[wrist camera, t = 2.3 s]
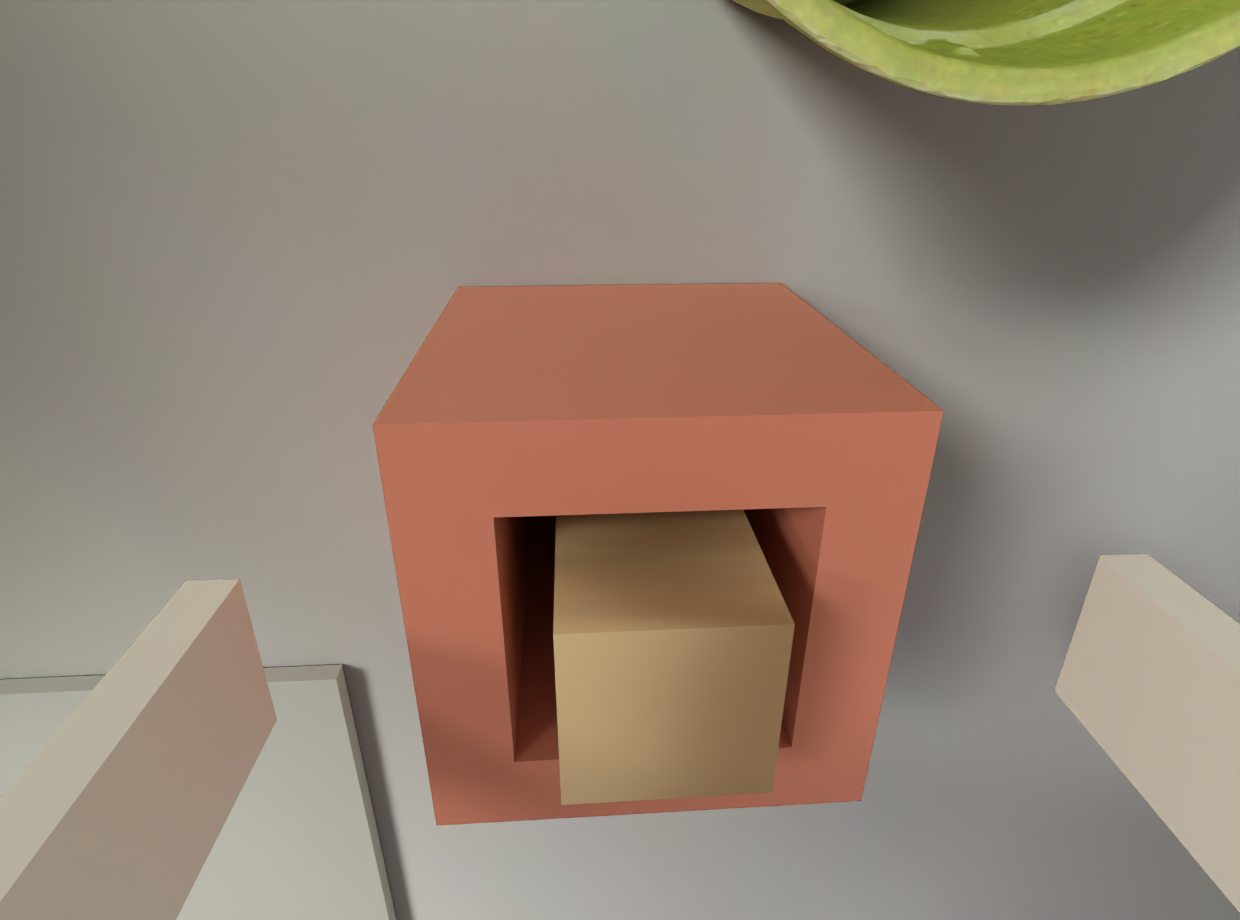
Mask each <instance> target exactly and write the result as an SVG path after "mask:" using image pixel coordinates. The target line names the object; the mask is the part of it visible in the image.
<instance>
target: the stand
mask: <svg viewBox="0 0 1240 920" xmlns="http://www.w3.org/2000/svg"><path fill="white" fill-rule="evenodd" d="M794 627H795V624H794V621H793V619H792V617H791V615H790V612H789V610H788V608H787V606H786V604H785V601H784V599H783V597H782V595H781V592H780V590H779V588H778V586H777V583H776V581H775V579H774V577H773V575H772V572H771V570H770V568H769V566H768V563H767V561H766V559H765V557H764V554H763V552H762V550H761V548H760V546H759V543H758V541H757V539H756V537H755V534H754V532H753V530H752V528H751V525H750V523H749V521H748V519H747V517H746V514H745V512H744V510H743V509H742V510H711V511H680V512H649V513H618V514H587V515H556V539H555V580H554V620H553V642H554V662H555V683H556V704H557V725H558V745H559V766H560V787H561V805H569V804H587V803H604V802H622V801H639V800H657V799H675V798H692V797H710V796H727V795H745V794H762V793H772V791H773V783H774V776H775V769H776V761H777V754H778V746H779V739H780V731H781V724H782V716H783V709H784V701H785V694H786V686H787V679H788V671H789V664H790V656H791V649H792V642H793V634H794Z"/></svg>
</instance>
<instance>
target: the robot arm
mask: <svg viewBox="0 0 1240 920" xmlns="http://www.w3.org/2000/svg"><path fill="white" fill-rule="evenodd" d="M1055 692H1056V693H1057V695H1058V696H1059V697H1060V698H1061V699H1062V701H1063V702H1064V703H1065V704H1066V705H1067V707H1068V708H1069V709H1070V710H1071V711H1072V713H1073V714H1074V715H1075V716H1076V717H1077V719H1078V720H1079V721H1080V722H1081V723H1082V725H1083V726H1084V727H1085V728H1086V729H1087V731H1088V732H1089V733H1090V734H1091V735H1092V737H1093V738H1094V739H1095V740H1096V741H1097V743H1098V744H1099V745H1100V746H1101V747H1102V749H1103V750H1104V751H1105V752H1106V753H1107V755H1108V756H1109V757H1110V758H1111V759H1112V761H1113V762H1114V763H1115V764H1116V765H1117V767H1118V768H1119V769H1120V770H1121V771H1122V773H1123V774H1124V775H1125V776H1126V777H1127V778H1128V780H1129V781H1130V782H1131V783H1132V784H1133V786H1134V787H1135V788H1136V789H1137V790H1138V792H1139V793H1140V794H1141V795H1142V796H1143V798H1144V799H1145V800H1146V801H1147V802H1148V804H1149V805H1150V806H1151V807H1152V808H1153V810H1154V811H1155V812H1156V813H1157V814H1158V816H1159V817H1160V818H1161V819H1162V820H1163V822H1164V823H1165V824H1166V825H1167V826H1168V828H1169V829H1170V830H1171V831H1172V832H1173V834H1174V835H1175V836H1176V837H1177V838H1178V840H1179V841H1180V842H1181V843H1182V844H1183V846H1184V847H1185V848H1186V849H1187V850H1188V852H1189V853H1190V854H1191V855H1192V856H1193V858H1194V859H1195V860H1196V861H1197V862H1198V864H1199V865H1200V866H1201V867H1202V868H1203V870H1204V871H1205V872H1206V873H1207V874H1208V876H1209V877H1210V878H1211V879H1212V880H1213V882H1214V883H1215V884H1216V885H1217V886H1218V888H1219V889H1220V890H1221V891H1222V892H1223V894H1224V895H1225V896H1226V897H1227V898H1228V900H1229V901H1230V902H1231V903H1232V904H1233V906H1234V907H1235V908H1236V909H1237V910H1238V912H1239V913H1240V624H1239V623H1237V622H1236V621H1235V620H1234V619H1232V618H1231V617H1230V616H1228V615H1227V614H1226V613H1224V612H1223V611H1222V610H1220V609H1219V608H1218V607H1216V606H1215V605H1214V604H1212V603H1211V602H1210V601H1209V600H1207V599H1206V598H1205V597H1203V596H1202V595H1201V594H1199V593H1198V592H1197V591H1195V590H1194V589H1193V588H1191V587H1190V586H1189V585H1188V584H1186V583H1185V582H1184V581H1182V580H1181V579H1180V578H1178V577H1177V576H1176V575H1174V574H1173V573H1172V572H1170V571H1169V570H1168V569H1167V568H1165V567H1164V566H1163V565H1161V564H1160V563H1159V562H1157V561H1156V560H1155V559H1153V558H1152V557H1151V556H1149V555H1148V554H1129V555H1100V557H1099V560H1098V563H1097V566H1096V569H1095V572H1094V575H1093V578H1092V581H1091V584H1090V587H1089V590H1088V593H1087V596H1086V599H1085V602H1084V605H1083V608H1082V611H1081V614H1080V617H1079V620H1078V623H1077V626H1076V628H1075V631H1074V634H1073V637H1072V640H1071V643H1070V646H1069V649H1068V652H1067V655H1066V658H1065V661H1064V664H1063V667H1062V670H1061V673H1060V676H1059V679H1058V682H1057V685H1056V688H1055ZM276 721H277V717H276V713H275V710H274V706H273V702H272V698H271V695H270V691H269V687H268V683H267V680H266V676H265V672H264V669H263V665H262V661H261V657H260V654H259V650H258V646H257V643H256V639H255V635H254V631H253V628H252V624H251V620H250V616H249V613H248V609H247V605H246V602H245V598H244V594H243V590H242V587H241V583H240V579H226V580H190V581H185V583H184V584H183V585H182V586H181V587H180V588H179V590H178V591H177V592H176V593H175V594H174V595H173V597H172V598H171V599H170V600H169V601H168V602H167V604H166V605H165V606H164V607H163V608H162V609H161V611H160V612H159V613H158V614H157V615H156V616H155V618H154V619H153V620H152V621H151V622H150V623H149V625H148V626H147V627H146V628H145V629H144V630H143V632H142V633H141V634H140V635H139V636H138V637H137V639H136V640H135V641H134V642H133V643H132V644H131V646H130V647H129V648H128V649H127V650H126V652H125V653H124V654H123V655H122V656H121V657H120V659H119V660H118V661H117V662H116V663H115V664H114V666H113V667H112V668H111V669H110V670H109V671H108V673H107V674H106V675H105V676H104V677H103V678H102V680H101V681H100V682H99V683H98V684H97V685H96V687H95V688H94V689H93V690H92V691H91V692H90V694H89V695H88V696H87V697H86V698H85V699H84V701H83V702H82V703H81V704H80V705H79V706H78V708H77V709H76V710H75V711H74V712H73V713H72V715H71V716H70V717H69V718H68V719H67V720H66V722H65V723H64V724H63V725H62V726H61V727H60V729H59V730H58V731H57V732H56V733H55V734H54V736H53V737H52V738H51V739H50V740H49V741H48V743H47V744H46V745H45V746H44V747H43V748H42V750H41V751H40V752H39V753H38V754H37V755H36V757H35V758H34V759H33V760H32V761H31V763H30V764H29V765H28V766H27V767H26V768H25V770H24V771H23V772H22V773H21V774H20V775H19V777H18V778H17V779H16V780H15V781H14V782H13V784H12V785H11V786H10V787H9V788H8V789H7V791H6V792H5V793H4V794H3V795H2V796H1V798H0V920H176V919H177V917H178V915H179V913H180V911H181V909H182V907H183V905H184V903H185V901H186V899H187V897H188V895H189V893H190V891H191V889H192V887H193V885H194V883H195V881H196V879H197V877H198V875H199V873H200V871H201V869H202V867H203V865H204V863H205V861H206V859H207V857H208V856H209V854H210V852H211V850H212V848H213V846H214V844H215V842H216V840H217V838H218V836H219V834H220V832H221V830H222V828H223V826H224V824H225V822H226V820H227V818H228V816H229V814H230V812H231V810H232V808H233V806H234V804H235V802H236V800H237V798H238V796H239V794H240V792H241V790H242V788H243V786H244V784H245V782H246V780H247V778H248V776H249V774H250V772H251V770H252V768H253V766H254V764H255V762H256V760H257V758H258V756H259V755H260V753H261V751H262V749H263V747H264V745H265V743H266V741H267V739H268V737H269V735H270V733H271V731H272V729H273V727H274V725H275V723H276Z"/></svg>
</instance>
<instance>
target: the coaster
mask: <svg viewBox="0 0 1240 920" xmlns="http://www.w3.org/2000/svg"><path fill="white" fill-rule="evenodd" d="M263 669H264V672H265V676H266V680H267V683H268V687H269V691H270V695H271V698H272V702H273V706H274V710H275V713H276V717H277V721H276V723H275V725H274V727H273V729H272V731H271V733H270V735H269V737H268V739H267V741H266V743H265V745H264V747H263V749H262V751H261V753H260V755H259V756H258V758H257V760H256V762H255V764H254V766H253V768H252V770H251V772H250V774H249V776H248V778H247V780H246V782H245V784H244V786H243V788H242V790H241V792H240V794H239V796H238V798H237V800H236V802H235V804H234V806H233V808H232V810H231V812H230V814H229V816H228V818H227V820H226V822H225V824H224V826H223V828H222V830H221V832H220V834H219V836H218V838H217V840H216V842H215V844H214V846H213V848H212V850H211V852H210V854H209V856H208V857H207V859H206V861H205V863H204V865H203V867H202V869H201V871H200V873H199V875H198V877H197V879H196V881H195V883H194V885H193V887H192V889H191V891H190V893H189V895H188V897H187V899H186V901H185V903H184V905H183V907H182V909H181V911H180V913H179V915H178V917H177V919H176V920H396V915H395V911H394V906H393V901H392V896H391V892H390V887H389V882H388V878H387V873H386V868H385V864H384V859H383V854H382V849H381V845H380V840H379V835H378V831H377V826H376V821H375V817H374V812H373V807H372V803H371V798H370V793H369V788H368V784H367V779H366V774H365V770H364V765H363V760H362V756H361V751H360V746H359V741H358V737H357V732H356V727H355V723H354V718H353V713H352V709H351V704H350V699H349V695H348V690H347V685H346V680H345V676H344V671H343V666H342V664H341V665H318V666H296V667H273V668H263ZM104 676H105V675H92V676H69V677H47V678H24V679H1V680H0V798H1V796H2V795H3V794H4V793H5V792H6V791H7V789H8V788H9V787H10V786H11V785H12V784H13V782H14V781H15V780H16V779H17V778H18V777H19V775H20V774H21V773H22V772H23V771H24V770H25V768H26V767H27V766H28V765H29V764H30V763H31V761H32V760H33V759H34V758H35V757H36V755H37V754H38V753H39V752H40V751H41V750H42V748H43V747H44V746H45V745H46V744H47V743H48V741H49V740H50V739H51V738H52V737H53V736H54V734H55V733H56V732H57V731H58V730H59V729H60V727H61V726H62V725H63V724H64V723H65V722H66V720H67V719H68V718H69V717H70V716H71V715H72V713H73V712H74V711H75V710H76V709H77V708H78V706H79V705H80V704H81V703H82V702H83V701H84V699H85V698H86V697H87V696H88V695H89V694H90V692H91V691H92V690H93V689H94V688H95V687H96V685H97V684H98V683H99V682H100V681H101V680H102V678H103V677H104Z"/></svg>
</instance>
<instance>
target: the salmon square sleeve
mask: <svg viewBox="0 0 1240 920" xmlns="http://www.w3.org/2000/svg"><path fill="white" fill-rule="evenodd" d="M943 412H944V411H943V410H942V409H941V408H940V407H938V406H937V405H936V404H934V403H933V402H932V401H931V400H929V399H928V398H927V397H926V396H924V395H923V394H922V393H920V392H919V391H918V390H917V389H915V388H914V387H913V386H912V385H910V384H909V383H908V382H906V381H905V380H904V379H903V378H901V377H900V376H899V375H898V374H896V373H895V372H894V371H892V370H891V369H890V368H889V367H887V366H886V365H885V364H884V363H882V362H881V361H880V360H878V359H877V358H876V357H875V356H873V355H872V354H871V353H870V352H868V351H867V350H866V349H864V348H863V347H862V346H861V345H859V344H858V343H857V342H856V341H854V340H853V339H852V338H850V337H849V336H848V335H847V334H845V333H844V332H843V331H842V330H840V329H839V328H838V327H837V326H835V325H834V324H833V323H831V322H830V321H829V320H828V319H826V318H825V317H824V316H823V315H821V314H820V313H819V312H817V311H816V310H815V309H814V308H812V307H811V306H810V305H809V304H807V303H806V302H805V301H803V300H802V299H801V298H800V297H798V296H797V295H796V294H795V293H793V292H792V291H791V290H789V289H788V288H787V287H786V286H784V285H783V284H782V283H726V284H646V285H567V286H487V287H458V288H457V290H456V291H455V293H454V295H453V296H452V298H451V299H450V301H449V303H448V304H447V306H446V307H445V309H444V311H443V312H442V314H441V315H440V317H439V319H438V320H437V322H436V324H435V325H434V327H433V328H432V330H431V332H430V333H429V335H428V336H427V338H426V340H425V341H424V343H423V344H422V346H421V348H420V349H419V351H418V352H417V354H416V356H415V357H414V359H413V361H412V362H411V364H410V365H409V367H408V369H407V370H406V372H405V373H404V375H403V377H402V378H401V380H400V381H399V383H398V385H397V386H396V388H395V389H394V391H393V393H392V394H391V396H390V398H389V399H388V401H387V402H386V404H385V406H384V407H383V409H382V410H381V412H380V414H379V415H378V417H377V418H376V420H375V422H374V423H373V430H374V436H375V442H376V449H377V455H378V461H379V468H380V474H381V480H382V486H383V493H384V499H385V505H386V511H387V518H388V524H389V530H390V536H391V543H392V549H393V555H394V561H395V568H396V574H397V580H398V587H399V593H400V599H401V605H402V612H403V618H404V624H405V630H406V637H407V643H408V649H409V655H410V662H411V668H412V674H413V681H414V687H415V693H416V699H417V706H418V712H419V718H420V724H421V731H422V737H423V743H424V749H425V756H426V762H427V768H428V775H429V781H430V787H431V793H432V800H433V806H434V812H435V818H436V825H453V824H470V823H487V822H505V821H522V820H539V819H556V818H573V817H591V816H608V815H625V814H642V813H659V812H677V811H694V810H711V809H728V808H745V807H762V806H780V805H797V804H814V803H831V802H848V801H861V799H862V795H863V790H864V785H865V780H866V776H867V771H868V766H869V762H870V757H871V752H872V747H873V743H874V738H875V733H876V729H877V724H878V719H879V714H880V710H881V705H882V700H883V695H884V691H885V686H886V681H887V677H888V672H889V667H890V662H891V658H892V653H893V648H894V644H895V639H896V634H897V629H898V625H899V620H900V615H901V611H902V606H903V601H904V596H905V592H906V587H907V582H908V577H909V573H910V568H911V563H912V559H913V554H914V549H915V544H916V540H917V535H918V530H919V526H920V521H921V516H922V511H923V507H924V502H925V497H926V493H927V488H928V483H929V478H930V474H931V469H932V464H933V460H934V455H935V450H936V445H937V441H938V436H939V431H940V426H941V422H942V417H943ZM742 509H743V510H744V512H745V514H746V517H747V519H748V521H749V523H750V525H751V528H752V530H753V532H754V534H755V537H756V539H757V541H758V543H759V546H760V548H761V550H762V552H763V554H764V557H765V559H766V561H767V563H768V566H769V568H770V570H771V572H772V575H773V577H774V579H775V581H776V583H777V586H778V588H779V590H780V592H781V595H782V597H783V599H784V601H785V604H786V606H787V608H788V610H789V612H790V615H791V617H792V619H793V621H794V624H795V627H794V634H793V642H792V649H791V656H790V664H789V671H788V679H787V686H786V694H785V701H784V709H783V716H782V724H781V731H780V739H779V746H778V754H777V761H776V769H775V776H774V783H773V791H772V793H762V794H745V795H727V796H710V797H692V798H675V799H657V800H639V801H622V802H604V803H587V804H569V805H561V787H560V766H559V745H558V725H557V704H556V683H555V662H554V642H553V620H554V580H555V539H556V515H587V514H618V513H649V512H680V511H711V510H742Z"/></svg>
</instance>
